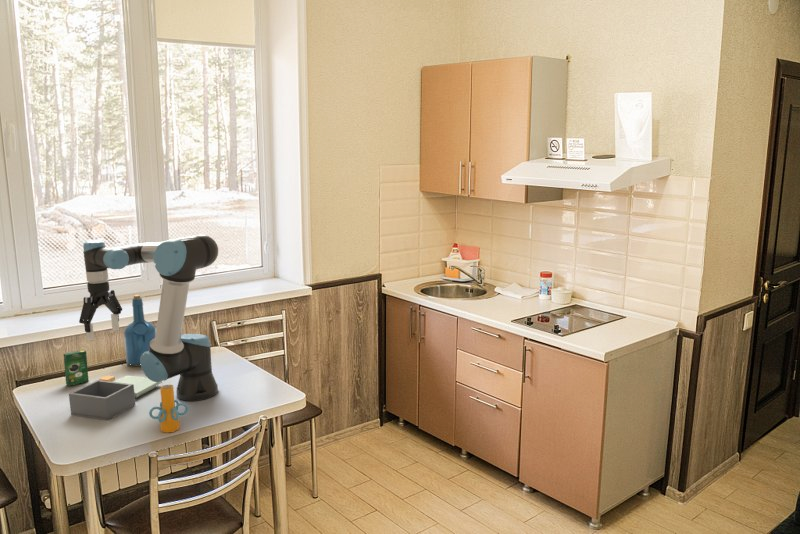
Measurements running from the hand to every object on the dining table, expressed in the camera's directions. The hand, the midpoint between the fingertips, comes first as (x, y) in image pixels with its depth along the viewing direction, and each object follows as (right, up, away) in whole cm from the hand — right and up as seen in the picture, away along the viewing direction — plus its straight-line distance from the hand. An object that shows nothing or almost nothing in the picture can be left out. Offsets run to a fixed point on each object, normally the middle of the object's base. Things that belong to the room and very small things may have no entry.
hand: (103, 335), depth 258 cm
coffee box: (-14, -20, +9) cm, 26 cm away
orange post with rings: (+38, -28, -35) cm, 59 cm away
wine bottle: (+2, -15, +33) cm, 37 cm away
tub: (+8, -25, -18) cm, 32 cm away
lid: (+8, -21, +1) cm, 23 cm away
